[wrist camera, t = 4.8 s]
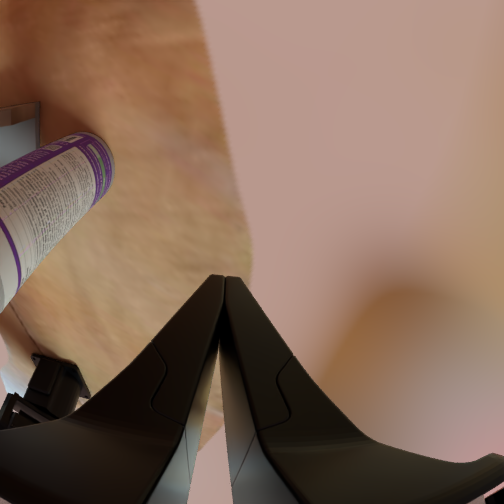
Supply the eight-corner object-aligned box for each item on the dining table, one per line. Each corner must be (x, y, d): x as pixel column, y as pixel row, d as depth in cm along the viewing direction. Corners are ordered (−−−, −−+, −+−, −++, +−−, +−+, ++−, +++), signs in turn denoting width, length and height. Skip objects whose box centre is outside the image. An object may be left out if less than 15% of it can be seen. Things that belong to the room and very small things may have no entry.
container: (47, 185, 16) (-108, 342, 4) (65, 121, 14) (-147, 245, 2) (102, 212, 18) (-32, 414, 5) (125, 148, 16) (-76, 336, 3)
